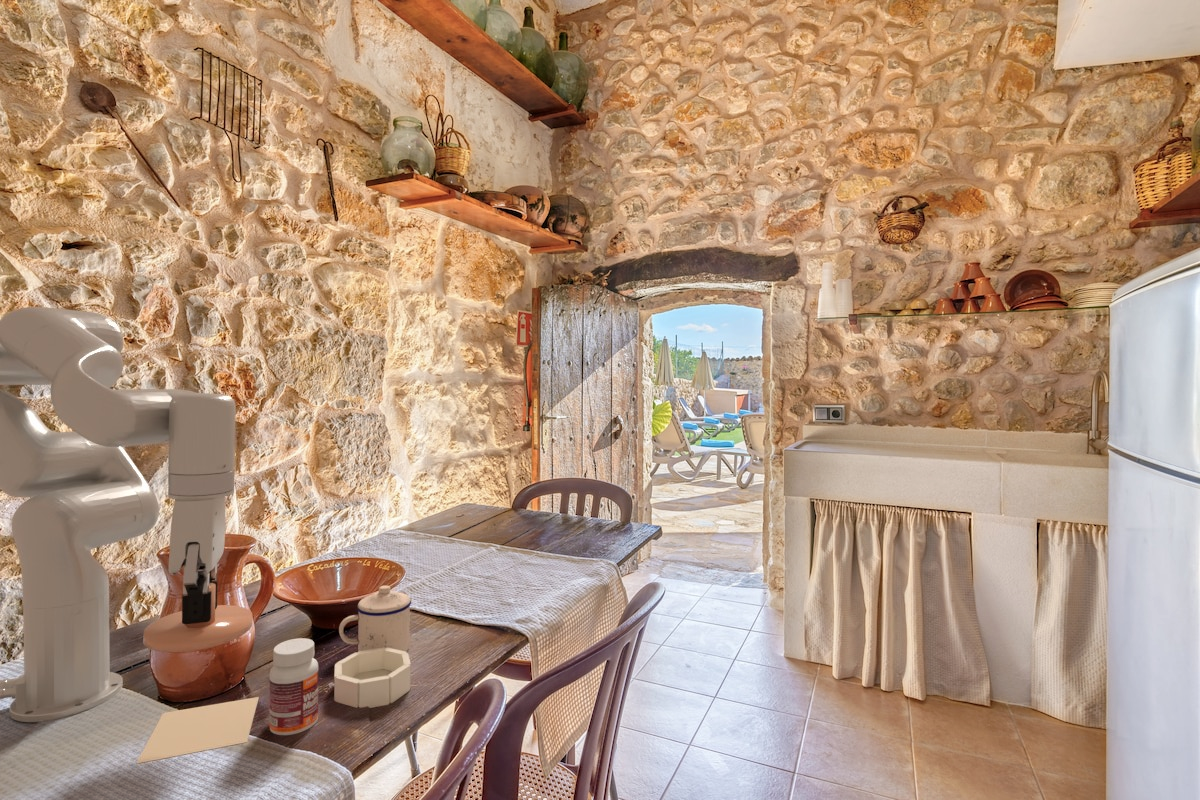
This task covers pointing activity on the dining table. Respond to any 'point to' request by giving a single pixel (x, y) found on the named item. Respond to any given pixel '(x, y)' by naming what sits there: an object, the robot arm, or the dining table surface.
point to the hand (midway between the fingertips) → (200, 615)
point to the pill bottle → (293, 687)
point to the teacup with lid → (381, 621)
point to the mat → (200, 729)
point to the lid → (198, 629)
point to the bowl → (372, 677)
